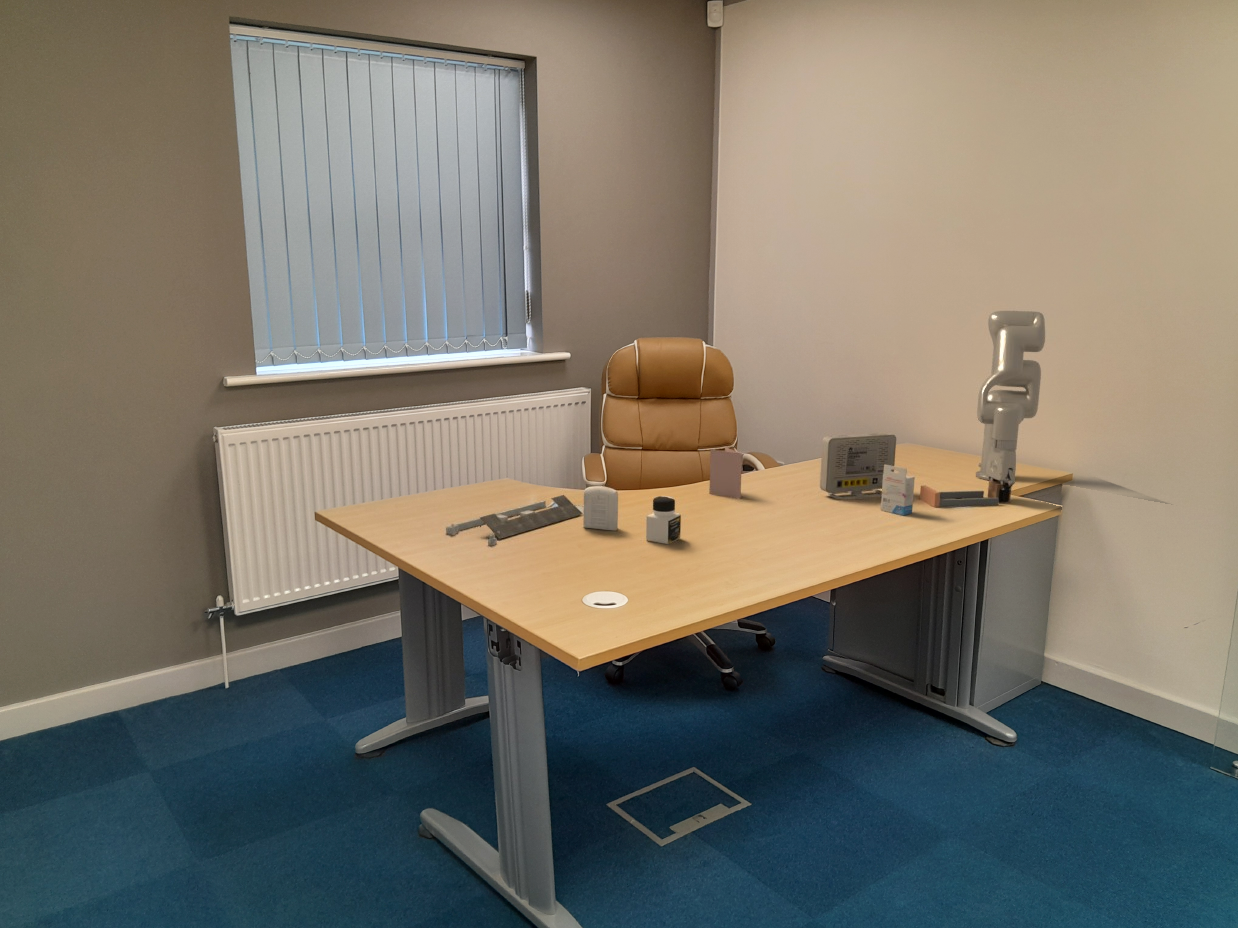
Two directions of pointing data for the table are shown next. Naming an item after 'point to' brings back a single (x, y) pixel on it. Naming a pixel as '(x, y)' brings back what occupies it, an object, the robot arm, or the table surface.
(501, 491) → the table surface
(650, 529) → the medicine bottle
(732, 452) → the greeting card
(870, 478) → the network device
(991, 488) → the block
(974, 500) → the guide channel
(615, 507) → the gravestone
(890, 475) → the ink box
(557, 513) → the paper cutter
